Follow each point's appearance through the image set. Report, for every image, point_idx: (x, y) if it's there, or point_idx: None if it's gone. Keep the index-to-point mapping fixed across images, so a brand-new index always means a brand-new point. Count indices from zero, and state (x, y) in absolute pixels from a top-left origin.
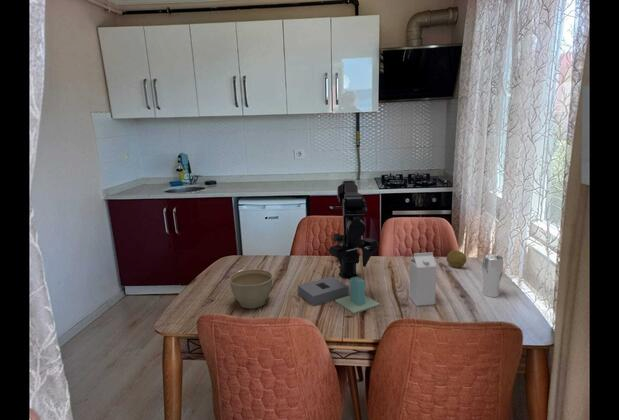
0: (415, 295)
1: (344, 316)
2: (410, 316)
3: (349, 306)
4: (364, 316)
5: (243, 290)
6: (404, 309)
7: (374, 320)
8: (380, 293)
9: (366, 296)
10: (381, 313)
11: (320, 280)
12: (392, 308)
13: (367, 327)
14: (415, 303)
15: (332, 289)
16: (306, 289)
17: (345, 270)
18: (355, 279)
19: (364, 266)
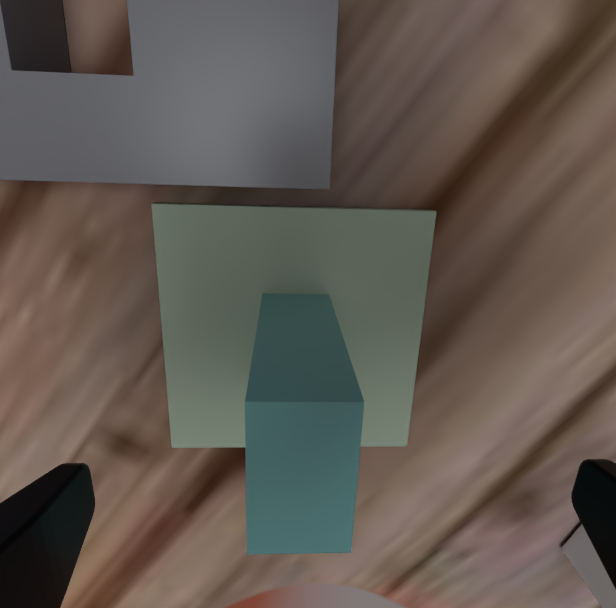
0: (613, 597)
1: (101, 432)
2: (435, 599)
3: (195, 366)
4: (219, 491)
5: None
6: (476, 539)
7: (241, 547)
8: (555, 302)
9: (416, 306)
10: None
11: None
12: (432, 501)
13: (159, 578)
14: (573, 547)
15: (122, 150)
16: None
17: (67, 562)
18: (279, 467)
19: (576, 509)
